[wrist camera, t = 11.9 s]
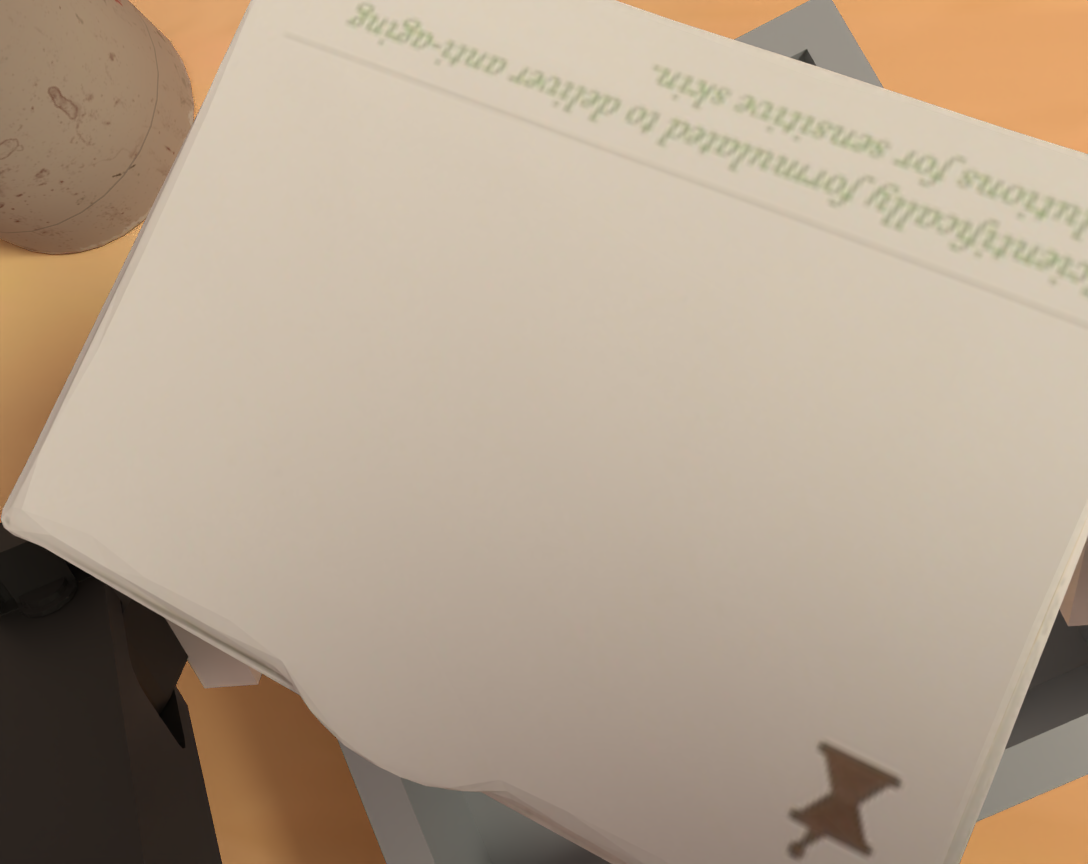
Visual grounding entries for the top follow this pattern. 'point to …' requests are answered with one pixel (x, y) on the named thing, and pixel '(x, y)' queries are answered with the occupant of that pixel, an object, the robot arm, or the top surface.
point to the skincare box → (599, 421)
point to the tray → (551, 860)
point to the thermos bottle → (84, 121)
